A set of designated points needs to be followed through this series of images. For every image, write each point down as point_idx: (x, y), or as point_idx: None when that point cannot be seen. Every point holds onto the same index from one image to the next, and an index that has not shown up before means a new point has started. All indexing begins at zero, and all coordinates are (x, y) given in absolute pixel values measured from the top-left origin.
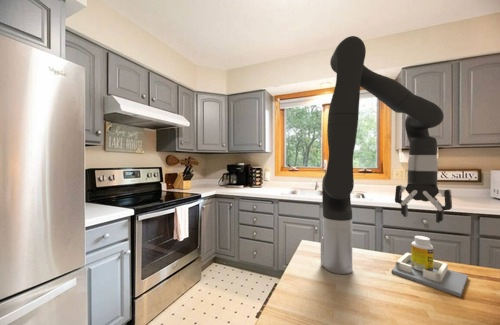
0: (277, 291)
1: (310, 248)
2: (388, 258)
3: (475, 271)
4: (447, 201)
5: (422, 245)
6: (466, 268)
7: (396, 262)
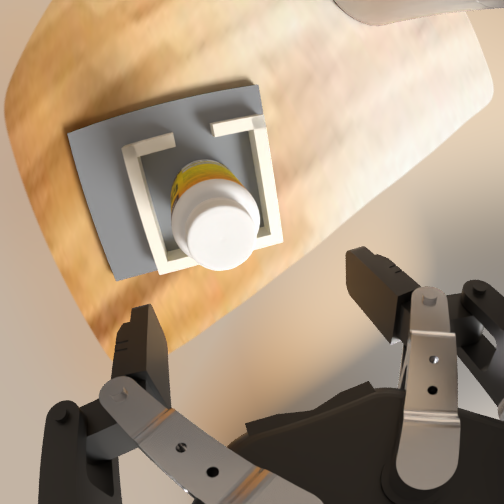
0: None
1: (468, 54)
2: (317, 191)
3: None
4: (58, 474)
5: (202, 198)
6: None
7: (262, 115)
